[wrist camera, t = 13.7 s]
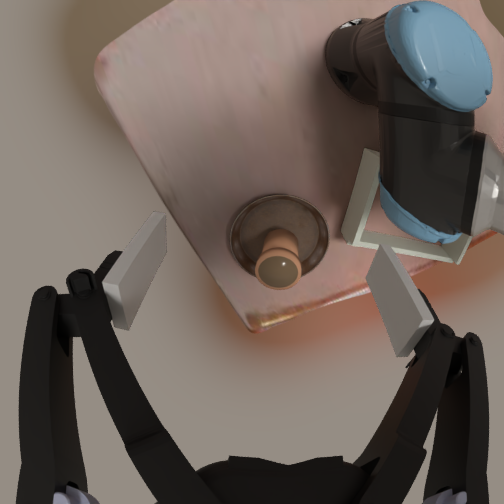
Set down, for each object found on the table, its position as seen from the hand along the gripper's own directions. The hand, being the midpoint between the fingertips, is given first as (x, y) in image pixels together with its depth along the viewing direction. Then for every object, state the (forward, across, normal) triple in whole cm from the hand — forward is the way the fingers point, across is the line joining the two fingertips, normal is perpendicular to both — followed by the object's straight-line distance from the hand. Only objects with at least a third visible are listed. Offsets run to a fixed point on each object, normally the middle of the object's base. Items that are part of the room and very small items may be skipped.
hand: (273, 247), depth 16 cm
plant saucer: (+31, +5, -16) cm, 35 cm away
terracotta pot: (+28, +5, -16) cm, 32 cm away
